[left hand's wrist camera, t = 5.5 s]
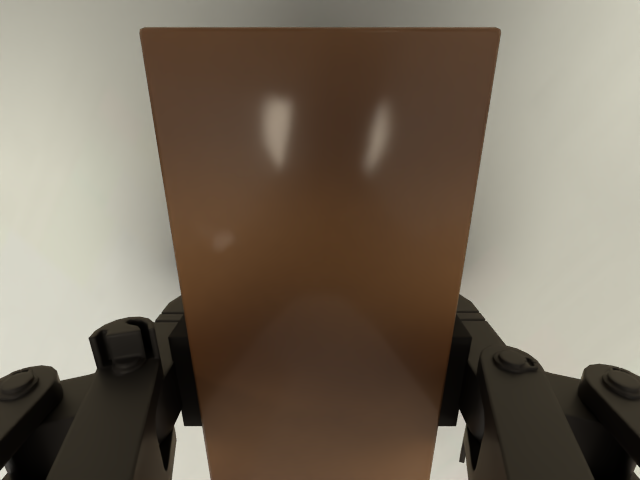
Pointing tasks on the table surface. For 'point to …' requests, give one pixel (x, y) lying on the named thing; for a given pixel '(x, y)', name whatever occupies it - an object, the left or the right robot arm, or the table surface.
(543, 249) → the table surface
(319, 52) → the post
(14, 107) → the table surface
